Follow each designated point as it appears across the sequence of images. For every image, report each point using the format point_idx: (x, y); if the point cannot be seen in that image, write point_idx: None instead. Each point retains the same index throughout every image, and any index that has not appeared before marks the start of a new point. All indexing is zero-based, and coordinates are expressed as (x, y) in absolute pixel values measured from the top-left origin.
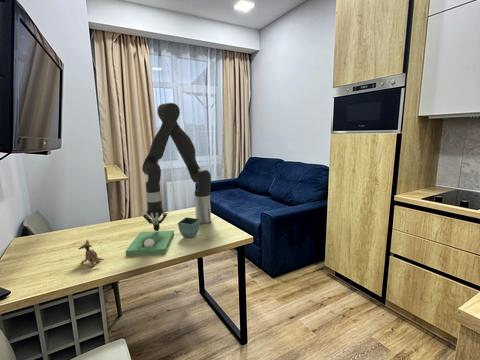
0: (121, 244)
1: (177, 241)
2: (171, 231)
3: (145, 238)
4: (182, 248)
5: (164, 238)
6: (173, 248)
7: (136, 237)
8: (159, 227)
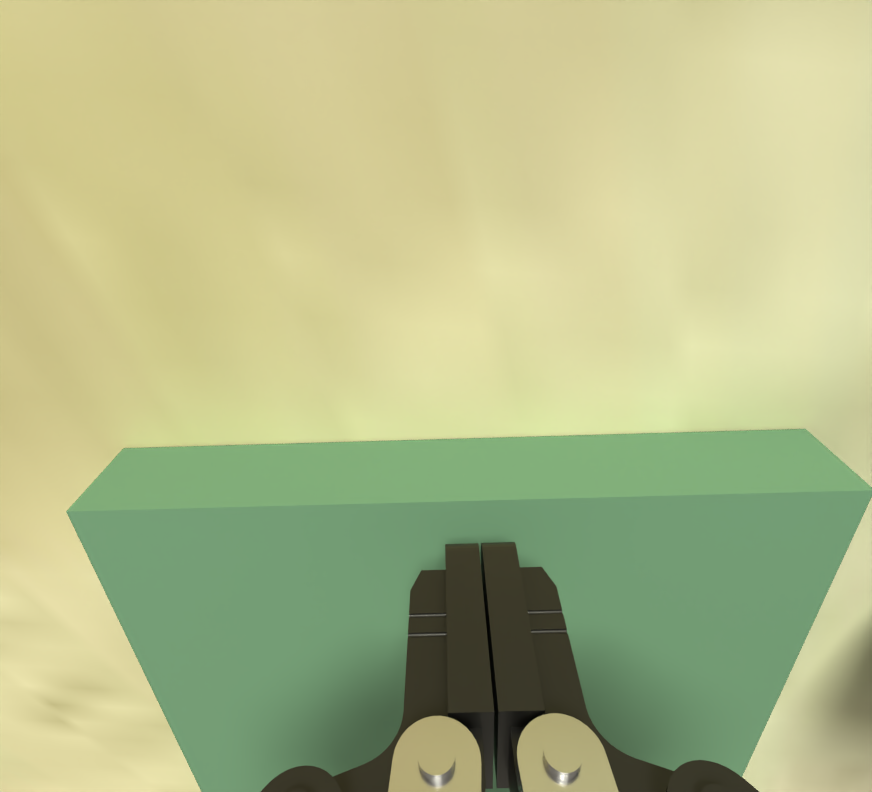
0: (18, 669)
1: (824, 645)
2: (811, 535)
3: (348, 735)
4: (851, 772)
5: (663, 747)
6: (747, 768)
7: (168, 704)
8: (559, 612)
